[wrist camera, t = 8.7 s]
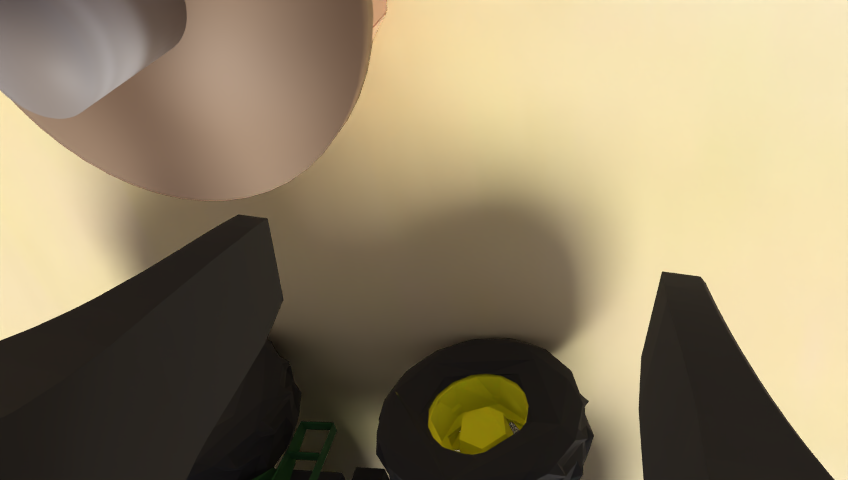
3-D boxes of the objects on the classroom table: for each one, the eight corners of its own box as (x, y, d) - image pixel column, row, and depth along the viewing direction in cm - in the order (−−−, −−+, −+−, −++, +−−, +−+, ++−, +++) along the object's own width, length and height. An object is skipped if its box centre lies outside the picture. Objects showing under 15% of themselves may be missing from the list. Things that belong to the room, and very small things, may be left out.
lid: (321, -355, 12) (198, -383, 9) (401, 194, 19) (350, 298, 16) (-162, -270, 15) (-393, -267, 12) (56, 178, 22) (-51, 262, 19)
